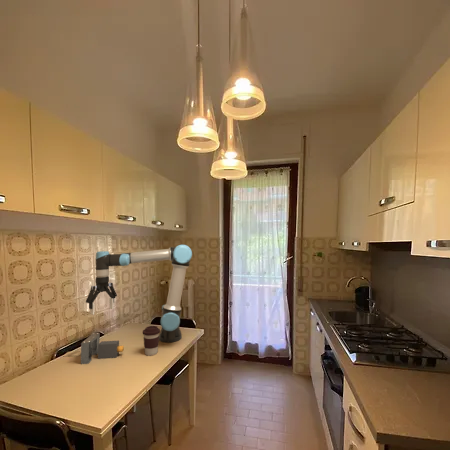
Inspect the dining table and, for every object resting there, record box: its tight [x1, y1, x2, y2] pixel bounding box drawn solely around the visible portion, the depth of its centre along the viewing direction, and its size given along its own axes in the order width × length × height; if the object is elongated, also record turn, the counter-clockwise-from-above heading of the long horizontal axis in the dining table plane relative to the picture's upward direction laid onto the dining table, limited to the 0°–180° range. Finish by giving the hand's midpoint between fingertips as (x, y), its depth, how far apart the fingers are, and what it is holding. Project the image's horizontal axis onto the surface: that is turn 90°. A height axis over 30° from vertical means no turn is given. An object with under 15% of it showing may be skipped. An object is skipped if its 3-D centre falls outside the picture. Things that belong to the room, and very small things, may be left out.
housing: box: [80, 332, 101, 365], centre depth 149 cm, size 4×16×11 cm, turn 6°
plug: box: [97, 340, 125, 360], centre depth 151 cm, size 13×5×8 cm, turn 96°
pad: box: [63, 350, 81, 357], centre depth 154 cm, size 9×6×1 cm, turn 96°
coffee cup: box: [142, 325, 161, 357], centre depth 154 cm, size 10×10×15 cm
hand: (102, 311), depth 158 cm, fingers open, 13 cm apart
